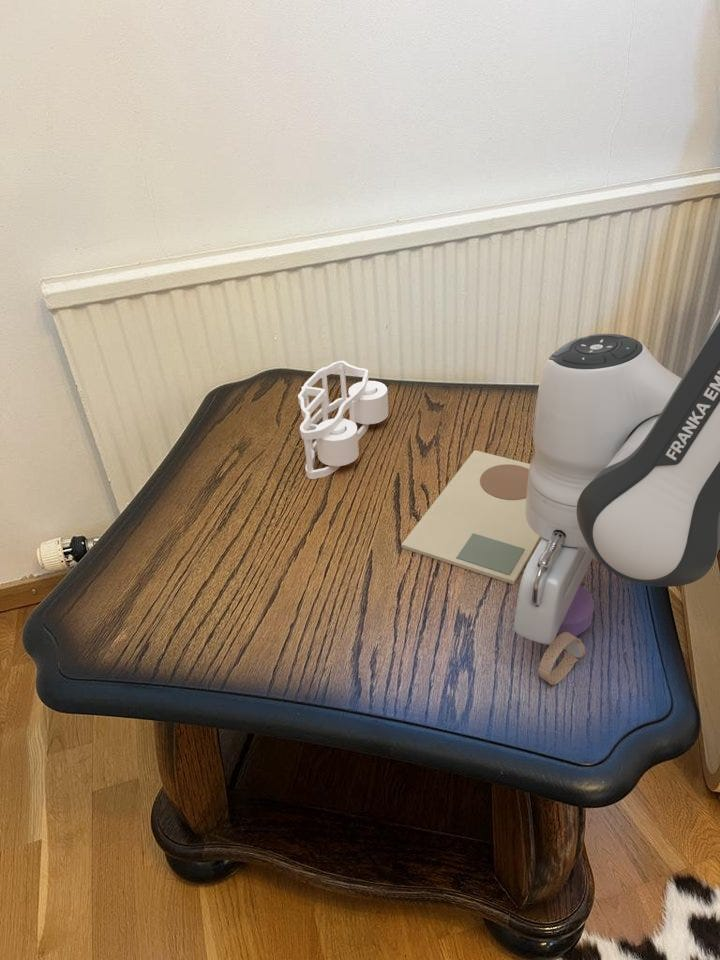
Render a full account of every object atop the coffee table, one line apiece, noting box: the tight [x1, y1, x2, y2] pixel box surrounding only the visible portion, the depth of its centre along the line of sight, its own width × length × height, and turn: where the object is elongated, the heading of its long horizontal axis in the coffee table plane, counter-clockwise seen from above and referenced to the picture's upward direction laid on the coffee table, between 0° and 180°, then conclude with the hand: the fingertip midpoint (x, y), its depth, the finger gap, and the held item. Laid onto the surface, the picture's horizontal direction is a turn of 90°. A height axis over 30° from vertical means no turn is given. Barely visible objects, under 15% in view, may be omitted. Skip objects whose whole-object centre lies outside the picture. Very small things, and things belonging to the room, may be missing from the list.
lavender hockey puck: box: [555, 585, 595, 639], centre depth 78 cm, size 6×6×3 cm
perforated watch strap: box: [537, 632, 586, 686], centre depth 72 cm, size 3×5×5 cm, turn 132°
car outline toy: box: [297, 360, 389, 480], centre depth 107 cm, size 20×11×7 cm, turn 157°
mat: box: [400, 449, 541, 585], centre depth 94 cm, size 14×22×1 cm, turn 150°
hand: (560, 609), depth 78 cm, fingers closed on lavender hockey puck, 6 cm apart
